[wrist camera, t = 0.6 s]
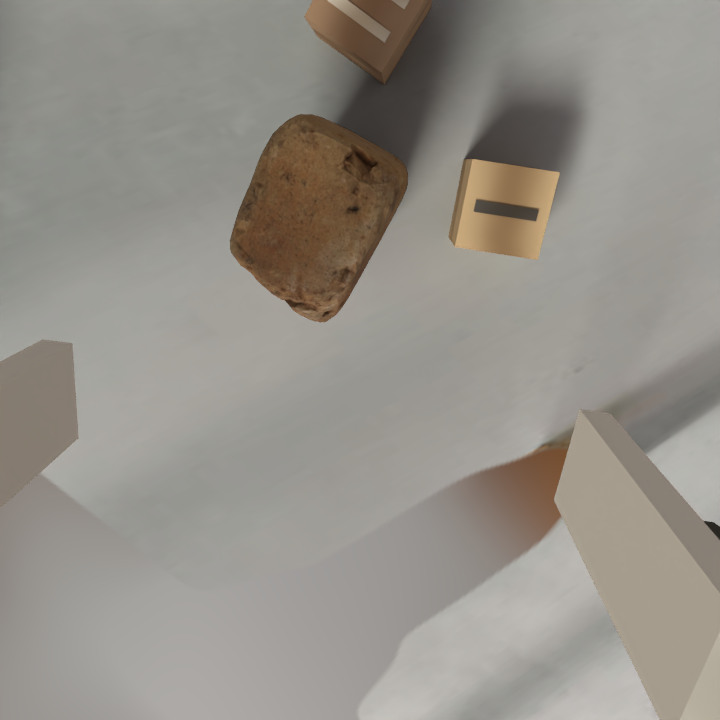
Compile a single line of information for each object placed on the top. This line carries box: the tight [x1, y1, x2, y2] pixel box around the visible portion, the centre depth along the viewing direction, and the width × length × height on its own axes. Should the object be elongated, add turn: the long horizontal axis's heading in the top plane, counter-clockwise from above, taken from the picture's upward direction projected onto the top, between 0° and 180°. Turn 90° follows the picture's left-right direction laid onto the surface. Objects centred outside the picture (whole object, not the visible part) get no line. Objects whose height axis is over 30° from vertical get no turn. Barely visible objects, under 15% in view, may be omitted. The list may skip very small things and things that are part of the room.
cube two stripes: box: [304, 0, 432, 85], centre depth 38 cm, size 6×6×6 cm
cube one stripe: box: [449, 159, 560, 260], centre depth 41 cm, size 6×6×6 cm
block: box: [230, 114, 408, 322], centre depth 36 cm, size 11×8×20 cm
